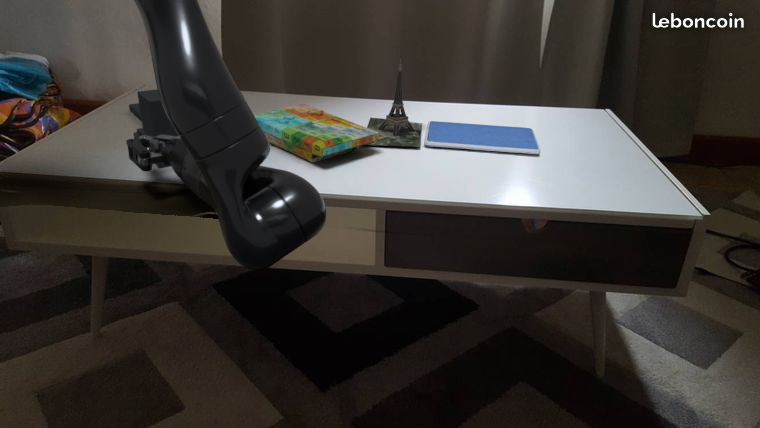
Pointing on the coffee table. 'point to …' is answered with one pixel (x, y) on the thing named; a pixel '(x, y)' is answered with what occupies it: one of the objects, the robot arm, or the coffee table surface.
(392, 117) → the eiffel tower figurine
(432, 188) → the coffee table surface
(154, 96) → the black block
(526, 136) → the tablet
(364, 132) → the puzzle game
